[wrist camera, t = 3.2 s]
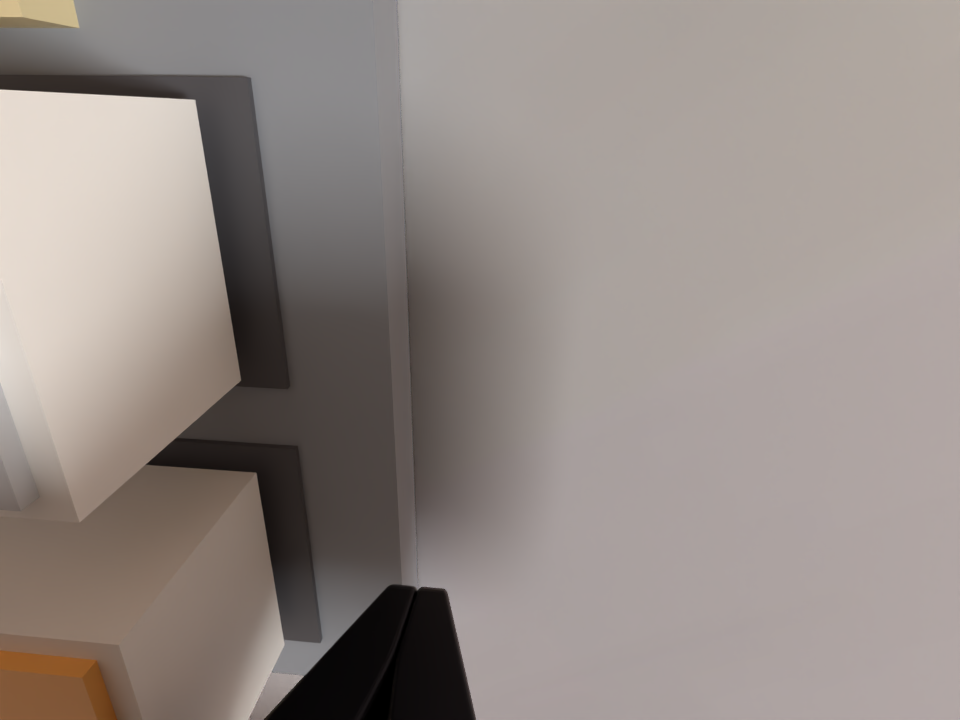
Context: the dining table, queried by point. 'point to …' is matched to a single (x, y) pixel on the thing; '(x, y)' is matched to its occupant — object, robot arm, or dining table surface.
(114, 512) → the white orange-topped block
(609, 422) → the dining table surface
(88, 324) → the toggle plain
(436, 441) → the dining table surface
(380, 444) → the breaker panel
